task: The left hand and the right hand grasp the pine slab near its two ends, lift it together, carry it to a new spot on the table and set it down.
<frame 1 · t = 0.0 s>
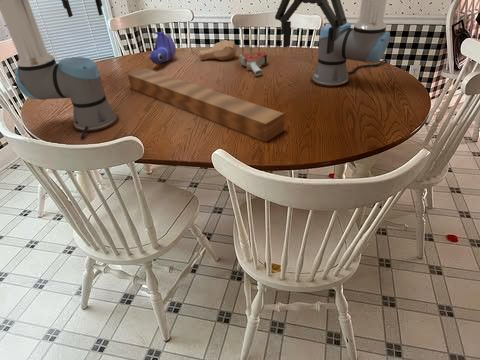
left hand: (86, 15, 157), 28 cm above the table, tool pointing down, fingers open, 13 cm apart
right hand: (307, 49, 101), 28 cm above the table, tool pointing down, fingers open, 13 cm apart
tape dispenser: (253, 68, 172), on the table
slab: (196, 106, 140), on the table
toy: (163, 63, 186), on the table
squash: (218, 59, 187), on the table
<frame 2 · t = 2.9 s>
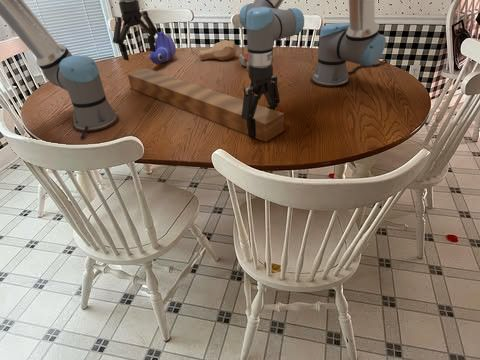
left hand: (140, 55, 151), 14 cm above the table, tool pointing down, fingers open, 13 cm apart
right hand: (261, 130, 121), 0 cm above the table, tool pointing down, fingers closed on slab, 9 cm apart
slab: (196, 106, 140), on the table, touching right hand
everything else where it was.
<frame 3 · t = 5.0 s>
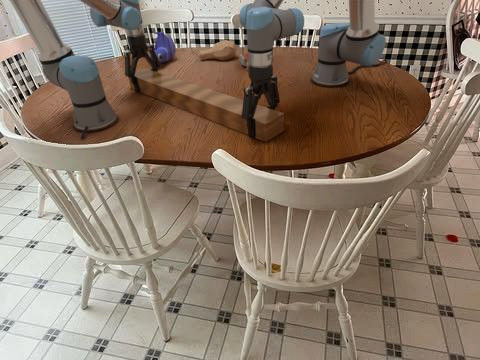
left hand: (146, 87, 159), 0 cm above the table, tool pointing down, fingers closed on slab, 9 cm apart
right hand: (261, 130, 121), 0 cm above the table, tool pointing down, fingers closed on slab, 9 cm apart
slab: (196, 106, 140), on the table, touching left hand, right hand
everything else where it was.
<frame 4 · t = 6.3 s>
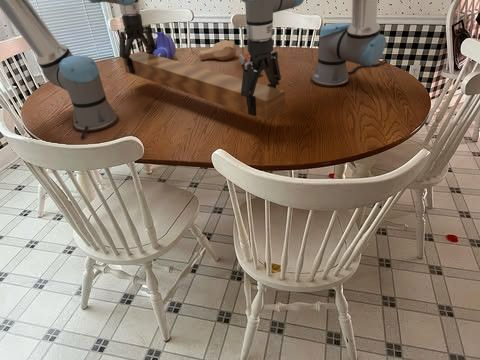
left hand: (142, 70, 154), 8 cm above the table, tool pointing down, fingers closed on slab, 10 cm apart
right hand: (262, 108, 116), 8 cm above the table, tool pointing down, fingers closed on slab, 9 cm apart
slab: (194, 88, 136), point 8 cm above the table, touching left hand, right hand
everything else where it was.
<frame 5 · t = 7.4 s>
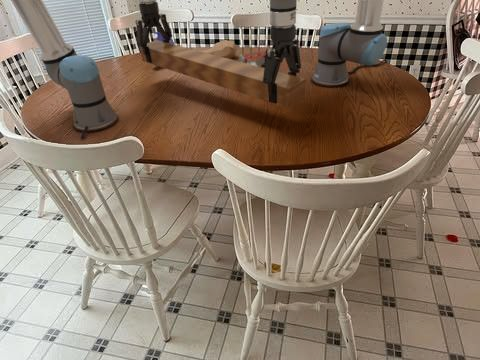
left hand: (158, 58, 155), 12 cm above the table, tool pointing down, fingers closed on slab, 9 cm apart
right hand: (282, 96, 117), 11 cm above the table, tool pointing down, fingers closed on slab, 9 cm apart
slab: (212, 76, 136), point 10 cm above the table, touching left hand, right hand
everything else where it was.
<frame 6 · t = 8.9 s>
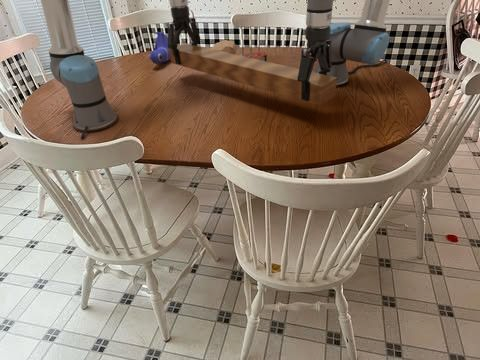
left hand: (186, 60, 160), 9 cm above the table, tool pointing down, fingers closed on slab, 9 cm apart
right hand: (313, 95, 122), 9 cm above the table, tool pointing down, fingers closed on slab, 9 cm apart
slab: (241, 77, 142), point 8 cm above the table, touching left hand, right hand
everything else where it was.
when the left hand's fingers open (2 cm above the table, at t = 10.2 s): slab drops 1 cm, on the table.
when the right hand's fingers open (2 cm above the table, at t = 10.2 s): slab drops 1 cm, on the table.
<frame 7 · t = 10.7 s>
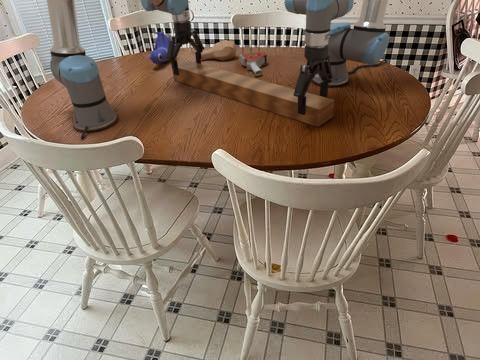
left hand: (188, 70, 163), 4 cm above the table, tool pointing down, fingers open, 13 cm apart
right hand: (312, 106, 125), 4 cm above the table, tool pointing down, fingers open, 13 cm apart
slab: (242, 96, 146), on the table
everything else where it was.
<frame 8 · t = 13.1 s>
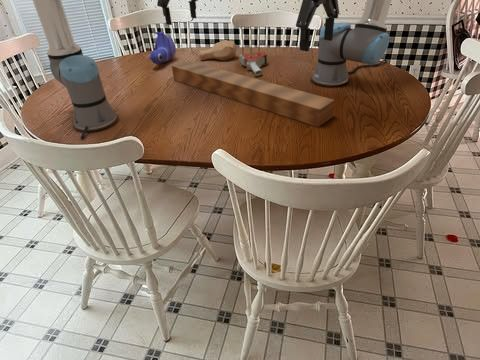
left hand: (181, 21, 150), 25 cm above the table, tool pointing down, fingers open, 13 cm apart
right hand: (316, 45, 112), 25 cm above the table, tool pointing down, fingers open, 13 cm apart
nothing on the table moved.
at the end: slab inside the target area (0.0 cm from its centre), on the table; slab tilted 0°; slab never tilted more than 2° during the clip; both hands held the slab at the same time; the left hand is holding nothing; the right hand is holding nothing; slab at rest at the end (0.0 cm/s) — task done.
